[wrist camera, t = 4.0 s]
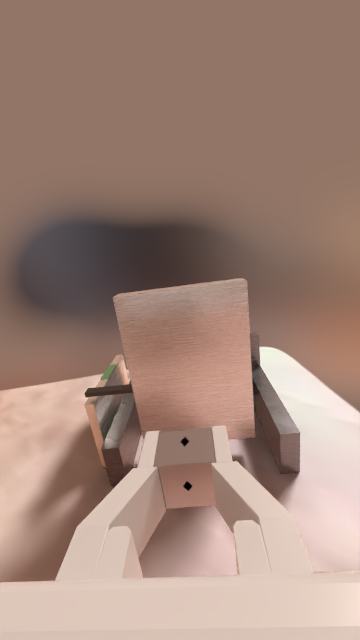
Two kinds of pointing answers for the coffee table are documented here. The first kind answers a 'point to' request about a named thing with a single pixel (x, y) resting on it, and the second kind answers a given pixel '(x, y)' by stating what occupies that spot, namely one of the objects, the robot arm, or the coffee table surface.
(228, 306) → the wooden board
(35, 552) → the coffee table surface
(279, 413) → the gauge housing
